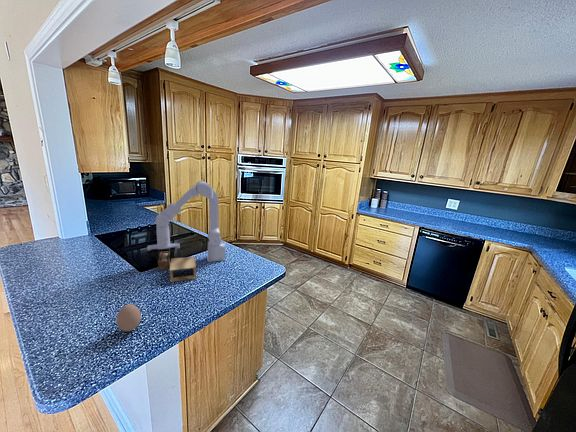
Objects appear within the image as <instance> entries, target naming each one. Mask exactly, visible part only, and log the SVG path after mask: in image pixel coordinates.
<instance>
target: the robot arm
mask: <svg viewBox="0 0 576 432" xmlns="http://www.w3.org/2000/svg"><path fill="white" fill-rule="evenodd" d="M199 195H200V196H202V197H205V198H206V199H207V200H208V207H209V209H208V211H209V212H208V213H209V229H208V230H209V231H208V233H207V239H208V242H207V255H206V260H207V263H212V262H222V261H226V244H225V243H224V242H222V237H221V235H220V234H221V233H220V228H219V227H220V226H219V225H220V223H219V221H220V220H219V219H220V218H219V217H220V216H219V213H220V212H219V195H218V194H217V192H216V191H215V190H214V188H213V187H212V186H211V185H210V184H209V183H207V182H206V181H204V180H199V181H198V182H196V184H193V185H192V186H191V187H190V188H189V189H188V190H186V192H185V193H184V194H183V195H182V196H181V197H179V199H178V200H177V201H176V202H171V203H168V204H167V207H166V208H164V209H163V211H162V210H161V211H160V213H159V214H157V216H156V217H155V224H156V241H157V242H156V243H157V244H151V245H147V246H146V247H147V248H146V249H147V250H146V251H147V252H148V251H152V252H151V253H152V254H153V255H154V257H155V259H156V261H157V263H158V259H159V255H160V250H169V251H170V263H171V259H173V257H174V254H175V251H176V249H180V248H181V245H180V243H171V235H170V234H171V233H170V227H169V224H170V221H172V220H173V219H174V218H175V217H176V216H177V215H179V213H181V211H182V207H183V206H184V205H185V204H186V203H188V202H189V201H190V200H191V199H192V198H194V197H199Z"/></svg>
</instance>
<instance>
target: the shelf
mask: <svg viewBox="0 0 576 432" xmlns="http://www.w3.org/2000/svg"><path fill="white" fill-rule="evenodd" d="M190 269H192V271H193V272H192V273H193V274H191V275H184V276H182V275H181V276H174V273H175V271H181V270H190ZM169 279H170V281H169V282H170V283H172V282H178V281H179V282H180V281H187V280H195V279H197V264H196V256H186V257H176V258H175V257H174V258H173V257H172V259H171V262H170V269H169Z"/></svg>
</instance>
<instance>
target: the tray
mask: <svg viewBox="0 0 576 432" xmlns="http://www.w3.org/2000/svg"><path fill="white" fill-rule="evenodd" d="M170 264H171V262H170V250H167V251H159V259H158V262H157V270H158V271H165V270H170Z"/></svg>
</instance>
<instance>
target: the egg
mask: <svg viewBox="0 0 576 432" xmlns="http://www.w3.org/2000/svg"><path fill="white" fill-rule="evenodd" d="M141 319H142V315H141V311H140V309H139V308H138V307H137V306H136V305H135V304H132V303H129V304H126V305H124V306H122V307H121V308H120V309H119V311H118V313H117V315H116V326H117V327H118V329H120V330H121V331H122V332H131V331H134V330H135V329H136V328H137V327H138V325H140V322H141Z"/></svg>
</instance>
